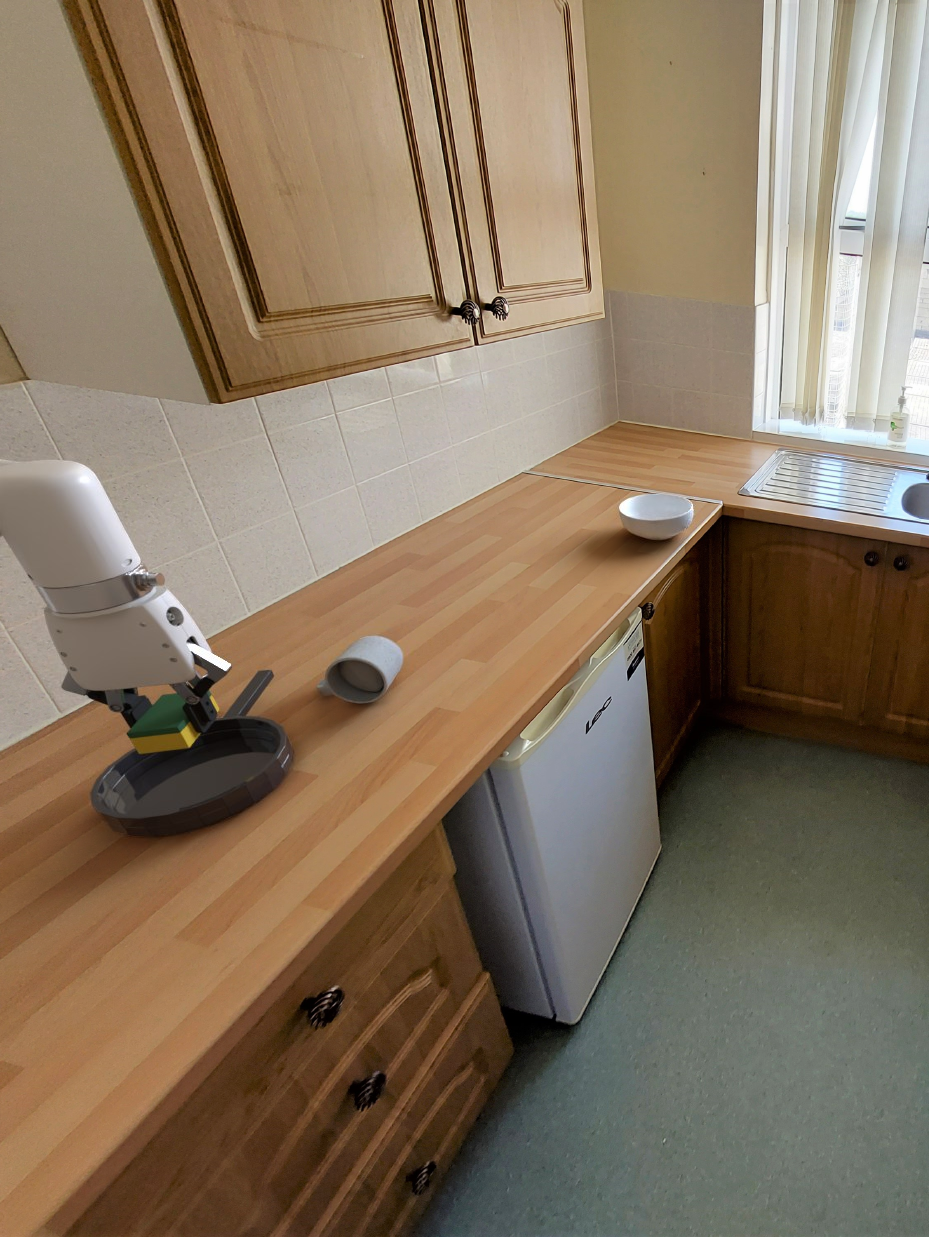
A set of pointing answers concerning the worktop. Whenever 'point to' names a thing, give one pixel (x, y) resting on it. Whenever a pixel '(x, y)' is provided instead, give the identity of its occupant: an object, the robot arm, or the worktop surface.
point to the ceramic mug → (363, 670)
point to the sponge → (164, 726)
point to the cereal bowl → (656, 515)
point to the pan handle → (250, 694)
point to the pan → (194, 779)
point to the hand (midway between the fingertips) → (179, 727)
